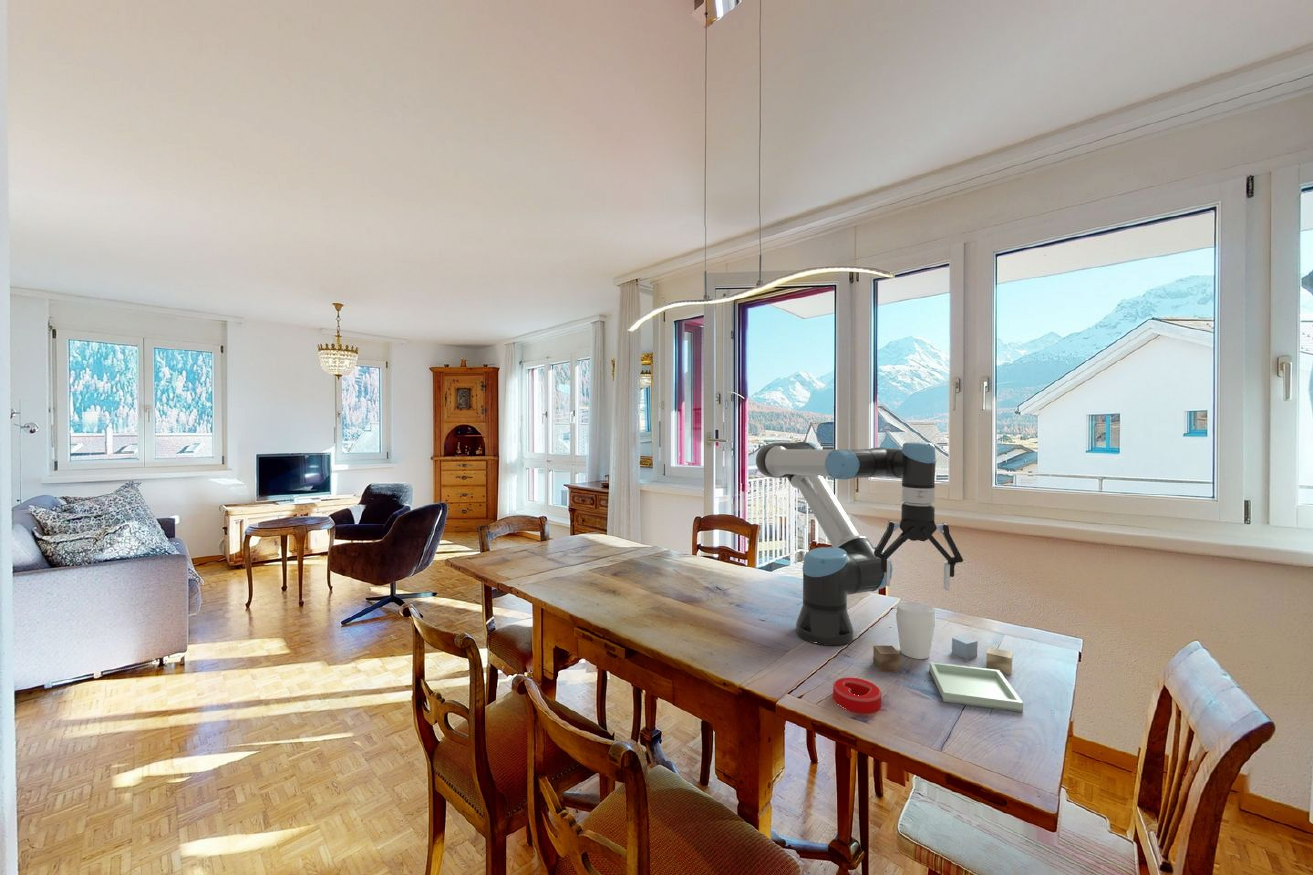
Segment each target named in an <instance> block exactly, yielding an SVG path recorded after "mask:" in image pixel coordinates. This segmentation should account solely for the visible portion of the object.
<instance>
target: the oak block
mask: <svg viewBox="0 0 1313 875" xmlns="http://www.w3.org/2000/svg"><path fill="white" fill-rule="evenodd" d="M1013 655H1014V653H1013V652H1012V651H1007V650H1003V649H999V648H996V647H995V648H994V647H990V646H988V647H987V651H986V657H985V658H986V661H985V664H986V665H985V668H986V669H995V670H1000V672H1001V673H1002V674H1007V675H1012V672H1013Z"/></svg>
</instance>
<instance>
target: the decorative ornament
mask: <svg viewBox="0 0 1313 875" xmlns="http://www.w3.org/2000/svg"><path fill="white" fill-rule="evenodd" d="M854 694H855V695H854ZM858 695H859V696H858ZM833 698H834V699H833ZM832 699H833V701H834V700H835V701H836V703H837V704H839V705H841V706H842V707H844V708H846V709H847V710H846V709H845V710H846V711H848V710H849V711H848V712H851V711H852V713H855V712H856V714H865V715H866V714H867V715H868V714H874V713H877V712H878V711H880V710H881V708H882V691H881V689H880V687H878V686H877V685H876V684H874V683H873V682H870V681H869V680H865V679H863V678H858V677H842V678H839V679H836V680H835V681H834V682H833V684H832ZM835 701H834V702H835ZM836 703H835V704H836ZM837 704H836V705H837ZM839 705H838V706H839ZM842 707H841V708H842Z"/></svg>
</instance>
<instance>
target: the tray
mask: <svg viewBox="0 0 1313 875" xmlns="http://www.w3.org/2000/svg"><path fill="white" fill-rule="evenodd" d="M928 669H929V672H930V675H931V677H932V679H933V681H934V683H935V685H936V687H937V690H938V692H939V695H940V697H941V699H942V701H943V702H945V703H950V704H956V705H957V704H958V705H965V706H971V707H980V708H981V707H982V708H987V709H995V710H1003V711H1010V712H1017V713H1018V712H1019V713H1024V702H1023V701H1022V699H1021V697H1019V695H1018V694H1017V692H1016V691H1015V689H1014V688H1013V687H1012V686H1011V684H1010V683H1009V681H1008V680H1007V679H1006V677H1005V676H1004V673H1002V672H1000V670H995V669H986V667H975V666H967V665H960V664H959V665H958V664H951V663H950V664H949V663H940V662H934V661H929V668H928Z"/></svg>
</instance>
